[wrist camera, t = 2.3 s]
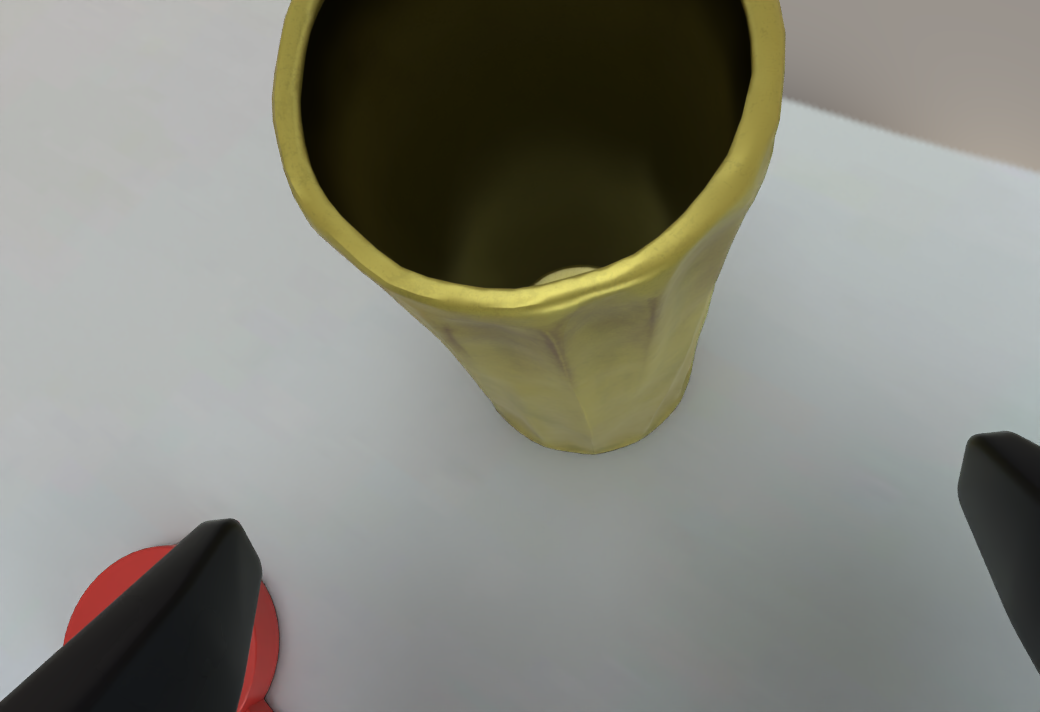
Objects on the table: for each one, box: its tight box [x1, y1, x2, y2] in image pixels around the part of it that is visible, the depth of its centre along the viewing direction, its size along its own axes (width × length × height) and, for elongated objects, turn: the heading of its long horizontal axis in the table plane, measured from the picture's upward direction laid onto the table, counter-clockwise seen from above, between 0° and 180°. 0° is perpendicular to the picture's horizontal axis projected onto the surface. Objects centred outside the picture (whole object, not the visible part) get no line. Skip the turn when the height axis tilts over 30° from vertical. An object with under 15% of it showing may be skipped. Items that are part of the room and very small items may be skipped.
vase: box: [272, 0, 785, 454], centre depth 14 cm, size 6×6×14 cm
